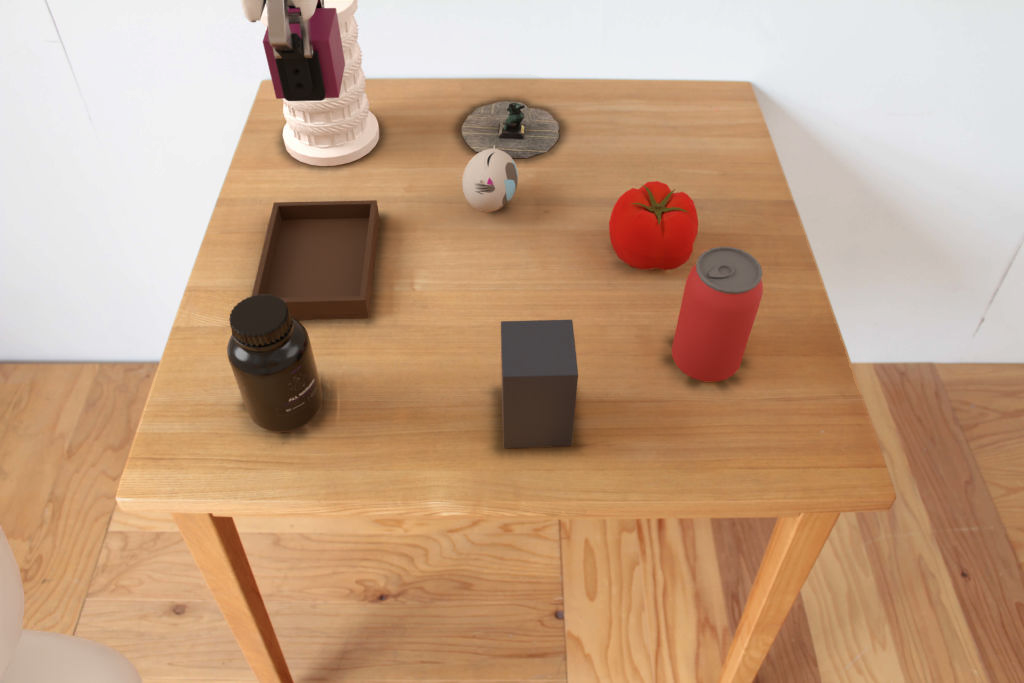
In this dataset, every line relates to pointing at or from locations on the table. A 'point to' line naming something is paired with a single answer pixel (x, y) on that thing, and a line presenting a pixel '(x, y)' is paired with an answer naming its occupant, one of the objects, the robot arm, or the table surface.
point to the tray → (320, 258)
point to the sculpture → (511, 129)
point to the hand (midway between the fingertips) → (310, 76)
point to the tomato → (653, 227)
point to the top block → (324, 42)
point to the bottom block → (538, 383)
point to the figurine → (490, 180)
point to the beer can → (717, 314)
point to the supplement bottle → (273, 364)
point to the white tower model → (334, 107)
